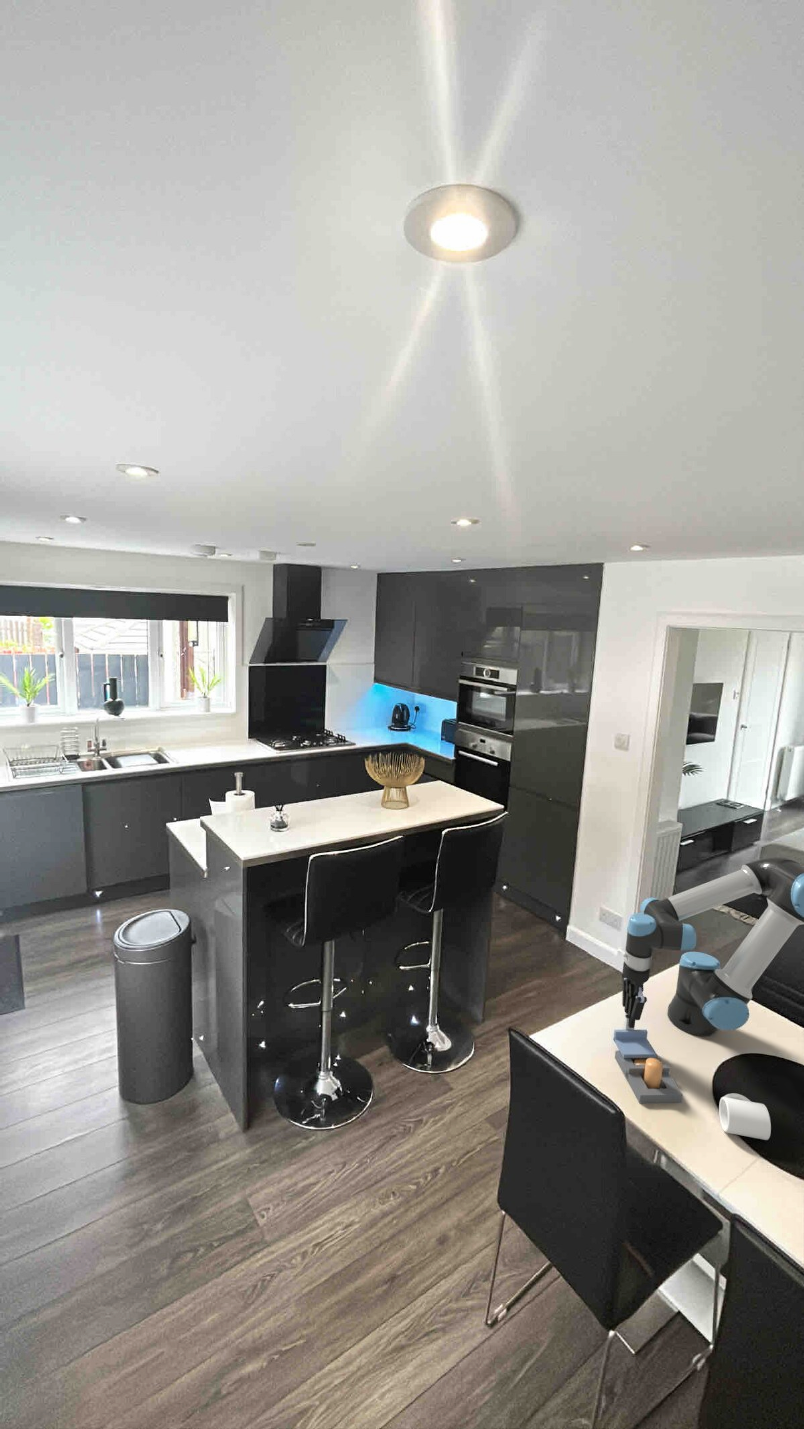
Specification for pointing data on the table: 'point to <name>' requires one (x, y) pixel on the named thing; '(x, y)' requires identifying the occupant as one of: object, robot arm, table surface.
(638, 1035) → the lid
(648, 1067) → the pin
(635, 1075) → the housing
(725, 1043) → the table surface
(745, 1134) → the mug
